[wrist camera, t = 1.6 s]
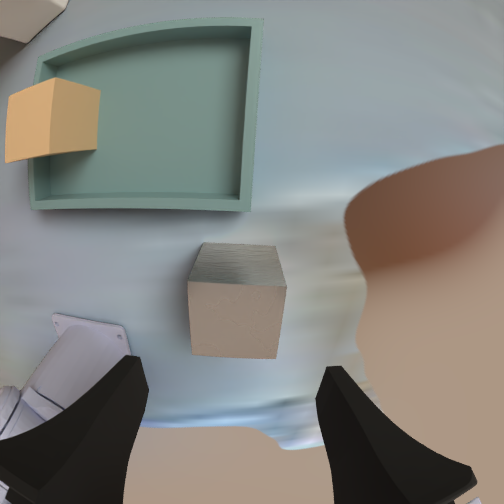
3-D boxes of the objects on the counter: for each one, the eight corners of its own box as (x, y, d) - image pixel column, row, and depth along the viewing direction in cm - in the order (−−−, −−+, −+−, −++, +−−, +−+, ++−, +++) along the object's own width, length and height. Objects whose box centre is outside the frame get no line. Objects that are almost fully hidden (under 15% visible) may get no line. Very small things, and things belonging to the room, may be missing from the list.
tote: (250, 203, 16) (250, 212, 14) (51, 201, 16) (30, 209, 14) (261, 35, 12) (263, 18, 10) (57, 62, 12) (38, 56, 10)
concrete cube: (268, 306, 19) (275, 358, 14) (204, 302, 19) (192, 354, 14) (275, 245, 18) (286, 286, 12) (204, 242, 17) (187, 281, 12)
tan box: (96, 149, 14) (49, 153, 10) (53, 155, 14) (5, 163, 9) (100, 90, 13) (55, 77, 8) (56, 101, 13) (9, 96, 8)
